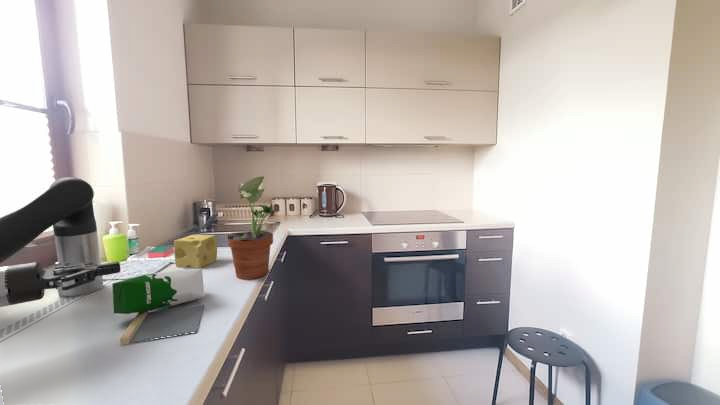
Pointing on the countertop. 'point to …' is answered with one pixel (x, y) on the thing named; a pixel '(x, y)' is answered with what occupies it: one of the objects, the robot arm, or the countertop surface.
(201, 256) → the cheese
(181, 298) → the white and green box
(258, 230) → the potted plant
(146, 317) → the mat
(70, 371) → the countertop surface
